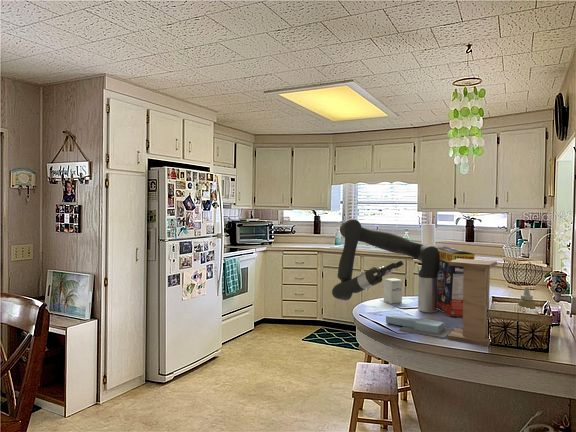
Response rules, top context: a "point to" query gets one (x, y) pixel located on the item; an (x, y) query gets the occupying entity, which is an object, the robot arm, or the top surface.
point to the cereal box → (451, 281)
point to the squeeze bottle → (527, 300)
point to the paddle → (416, 323)
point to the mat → (442, 334)
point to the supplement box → (393, 290)
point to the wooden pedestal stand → (474, 301)
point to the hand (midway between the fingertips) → (398, 263)
